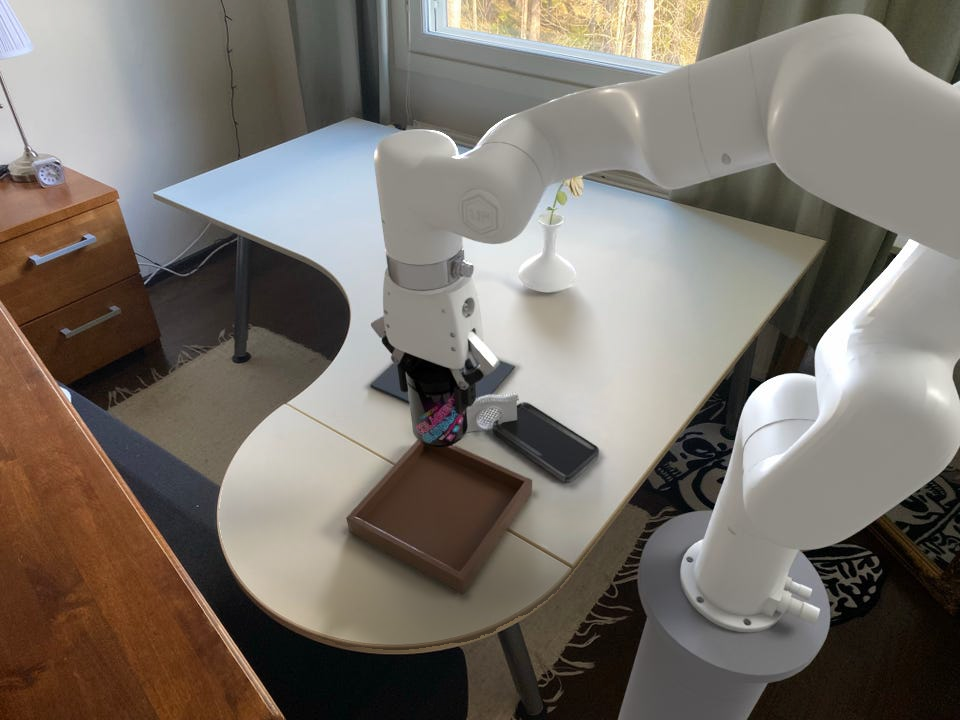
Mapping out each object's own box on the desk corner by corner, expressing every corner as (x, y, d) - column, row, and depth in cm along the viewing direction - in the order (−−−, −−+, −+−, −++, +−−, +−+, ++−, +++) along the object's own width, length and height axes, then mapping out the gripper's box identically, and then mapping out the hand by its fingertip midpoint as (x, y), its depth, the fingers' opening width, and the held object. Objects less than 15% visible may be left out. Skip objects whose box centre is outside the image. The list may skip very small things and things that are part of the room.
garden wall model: (442, 439, 99) (438, 409, 95) (439, 431, 100) (436, 401, 97) (519, 424, 101) (519, 394, 97) (516, 416, 102) (515, 386, 98)
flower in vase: (552, 305, 125) (561, 180, 109) (506, 283, 131) (508, 161, 115) (592, 277, 133) (606, 156, 117) (547, 257, 139) (554, 140, 123)
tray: (531, 493, 91) (532, 479, 89) (463, 594, 79) (462, 580, 78) (425, 445, 98) (424, 431, 96) (348, 531, 86) (345, 517, 85)
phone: (524, 400, 104) (602, 449, 95) (523, 405, 104) (601, 454, 96) (488, 426, 99) (567, 480, 91) (489, 431, 100) (567, 485, 92)
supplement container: (403, 443, 79) (394, 377, 72) (424, 406, 84) (417, 340, 77) (457, 456, 77) (452, 389, 70) (475, 416, 82) (473, 350, 75)
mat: (514, 367, 111) (515, 365, 111) (464, 426, 101) (464, 424, 101) (426, 334, 119) (426, 333, 118) (370, 386, 108) (370, 384, 108)
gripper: (521, 266, 64) (519, 401, 76) (378, 226, 71) (395, 355, 83) (482, 305, 59) (486, 443, 71) (332, 257, 66) (357, 390, 78)
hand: (437, 394), depth 77 cm, fingers closed on supplement container, 6 cm apart
